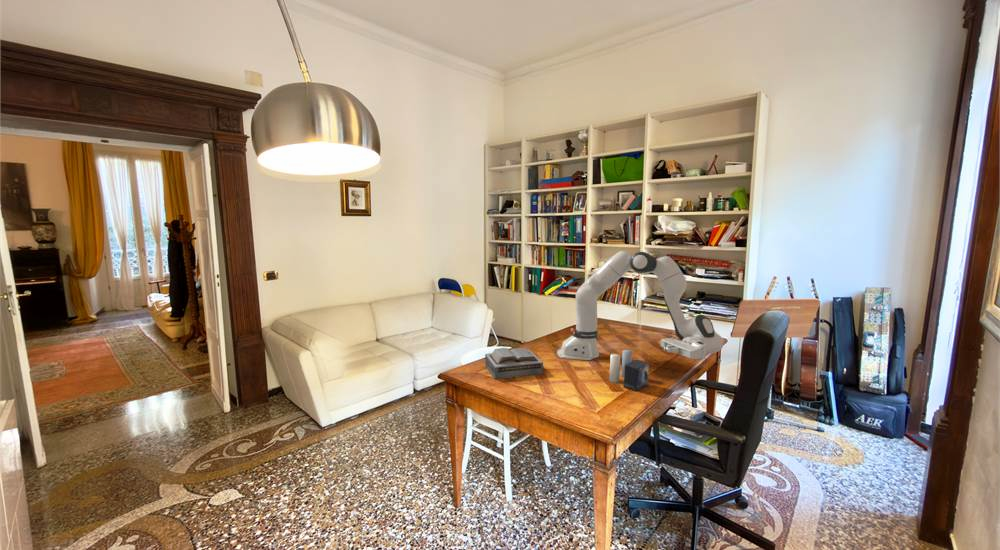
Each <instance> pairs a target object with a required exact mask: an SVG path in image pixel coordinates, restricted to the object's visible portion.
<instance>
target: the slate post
mask: <svg viewBox="0 0 1000 550" xmlns="http://www.w3.org/2000/svg"><path fill="white" fill-rule="evenodd" d="M621 352H622V353H621V354H622V355H621V356H622V357H621V377H623V378H624V371H625V364H627V363H630V362H632V361H633V351H632V350H629V349H623V350H622V351H621Z"/></svg>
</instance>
